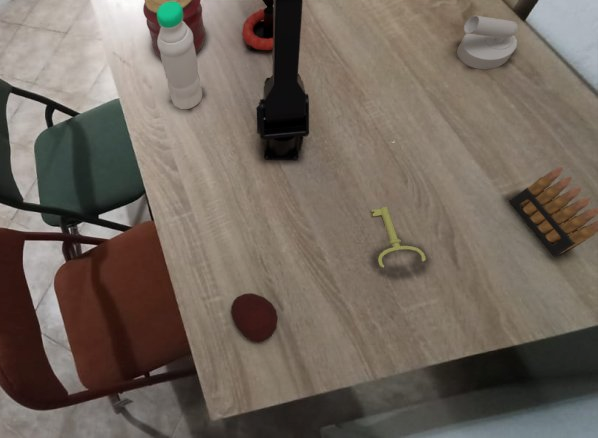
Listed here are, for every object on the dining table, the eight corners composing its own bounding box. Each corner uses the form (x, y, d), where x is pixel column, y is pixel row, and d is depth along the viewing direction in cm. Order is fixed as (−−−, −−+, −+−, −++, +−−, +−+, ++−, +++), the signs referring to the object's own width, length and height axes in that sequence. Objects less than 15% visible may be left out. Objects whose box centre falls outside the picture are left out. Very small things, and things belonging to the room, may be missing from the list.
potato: (268, 293, 79) (269, 284, 73) (283, 339, 75) (285, 333, 70) (228, 302, 80) (226, 293, 75) (240, 348, 76) (239, 342, 71)
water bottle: (167, 108, 101) (144, 21, 79) (177, 84, 103) (157, -7, 81) (196, 112, 98) (180, 24, 77) (206, 87, 101) (193, -5, 79)
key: (381, 207, 79) (385, 202, 77) (429, 265, 74) (434, 261, 72) (345, 225, 80) (347, 221, 78) (390, 284, 74) (393, 280, 72)
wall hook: (463, 2, 81) (527, -10, 79) (443, 41, 90) (501, 31, 87) (478, 36, 78) (546, 25, 75) (456, 73, 86) (516, 64, 83)
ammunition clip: (566, 252, 69) (622, 222, 59) (554, 256, 69) (607, 227, 59) (520, 197, 74) (564, 160, 64) (508, 200, 74) (550, 164, 64)
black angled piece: (249, 51, 102) (249, 25, 95) (251, 25, 105) (251, -2, 98) (286, 48, 99) (288, 22, 93) (287, 22, 102) (289, -5, 96)
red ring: (239, 53, 101) (239, 45, 99) (245, 14, 105) (245, 6, 103) (294, 51, 97) (295, 43, 95) (297, 11, 101) (298, 2, 99)
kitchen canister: (171, 17, 112) (158, -47, 97) (215, 30, 107) (209, -36, 91) (143, 54, 110) (125, -6, 94) (187, 69, 104) (175, 8, 89)
